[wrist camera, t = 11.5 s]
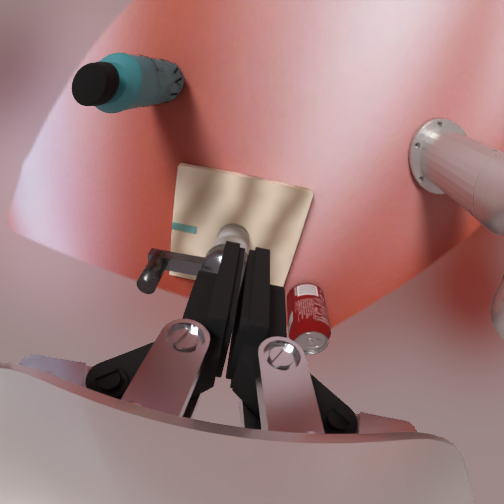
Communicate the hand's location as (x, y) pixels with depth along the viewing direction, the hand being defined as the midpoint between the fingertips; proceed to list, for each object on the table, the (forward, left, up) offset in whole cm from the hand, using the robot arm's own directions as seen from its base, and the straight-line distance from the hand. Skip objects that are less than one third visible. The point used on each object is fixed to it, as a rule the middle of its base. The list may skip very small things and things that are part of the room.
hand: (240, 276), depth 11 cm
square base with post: (+1, +16, -32) cm, 36 cm away
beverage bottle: (+15, -6, -32) cm, 36 cm away
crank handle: (+5, +16, -23) cm, 29 cm away
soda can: (-14, +26, -32) cm, 44 cm away
